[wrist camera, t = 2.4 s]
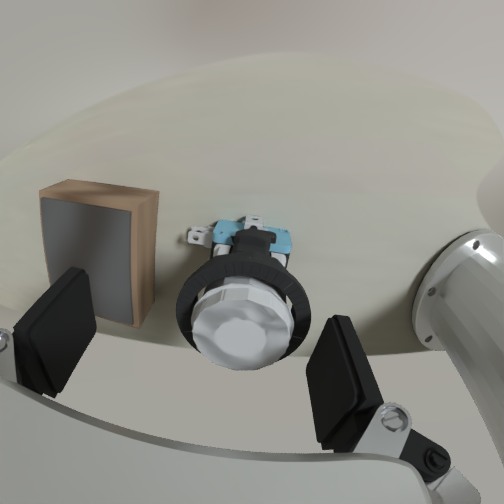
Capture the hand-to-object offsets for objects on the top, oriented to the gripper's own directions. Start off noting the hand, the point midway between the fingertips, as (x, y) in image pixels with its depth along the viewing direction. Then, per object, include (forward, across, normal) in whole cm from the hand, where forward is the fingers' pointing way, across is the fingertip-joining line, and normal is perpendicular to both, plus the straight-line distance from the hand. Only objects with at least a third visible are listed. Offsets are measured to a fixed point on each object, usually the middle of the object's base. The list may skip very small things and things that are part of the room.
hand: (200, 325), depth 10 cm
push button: (+10, -1, 0) cm, 10 cm away
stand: (+10, +9, +3) cm, 14 cm away
